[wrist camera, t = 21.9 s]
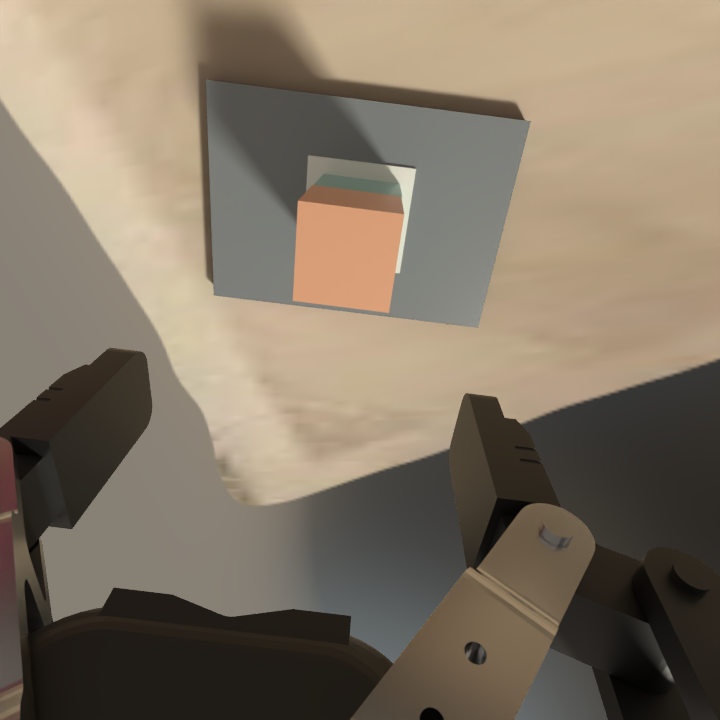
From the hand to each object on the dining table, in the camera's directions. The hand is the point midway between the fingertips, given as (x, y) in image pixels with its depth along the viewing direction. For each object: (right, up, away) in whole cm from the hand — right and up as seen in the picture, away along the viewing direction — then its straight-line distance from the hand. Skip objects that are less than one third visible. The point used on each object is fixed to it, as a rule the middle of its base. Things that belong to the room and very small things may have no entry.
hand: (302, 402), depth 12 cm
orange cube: (+1, +8, +16) cm, 18 cm away
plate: (+1, +11, +21) cm, 24 cm away
